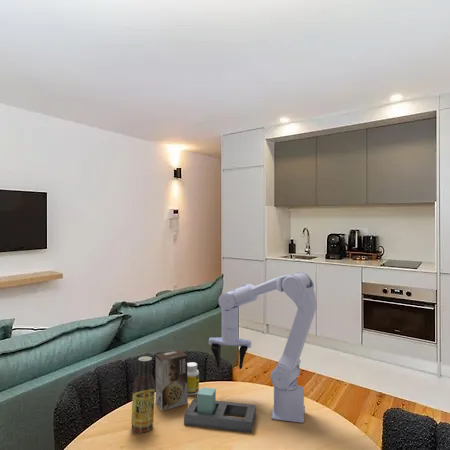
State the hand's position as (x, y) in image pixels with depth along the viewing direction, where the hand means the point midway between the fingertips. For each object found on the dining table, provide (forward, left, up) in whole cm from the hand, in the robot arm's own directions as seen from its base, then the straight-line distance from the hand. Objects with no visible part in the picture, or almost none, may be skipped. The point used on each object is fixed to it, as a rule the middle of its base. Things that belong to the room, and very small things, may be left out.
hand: (229, 366), depth 118 cm
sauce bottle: (+21, +23, -11) cm, 33 cm away
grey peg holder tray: (0, +14, -10) cm, 17 cm away
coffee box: (+18, +8, -11) cm, 22 cm away
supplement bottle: (+14, -1, -11) cm, 18 cm away
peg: (+5, +14, -10) cm, 18 cm away
